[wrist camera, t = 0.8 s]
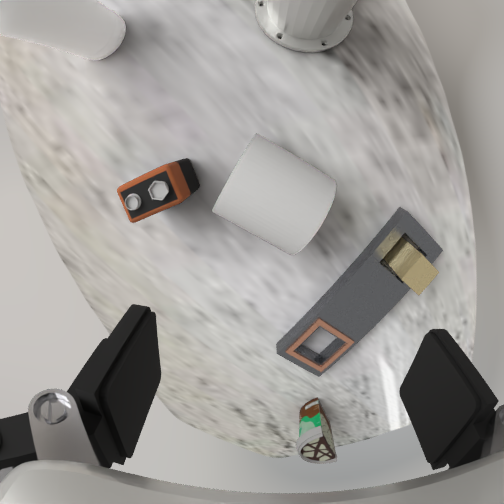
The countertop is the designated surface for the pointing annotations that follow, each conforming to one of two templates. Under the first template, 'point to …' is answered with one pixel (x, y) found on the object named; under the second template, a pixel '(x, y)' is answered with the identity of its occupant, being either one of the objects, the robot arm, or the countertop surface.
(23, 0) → the bottle
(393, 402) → the countertop surface
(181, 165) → the battery
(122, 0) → the countertop surface
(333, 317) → the rail
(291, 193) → the toilet paper
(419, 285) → the tan wooden block
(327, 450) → the food container
